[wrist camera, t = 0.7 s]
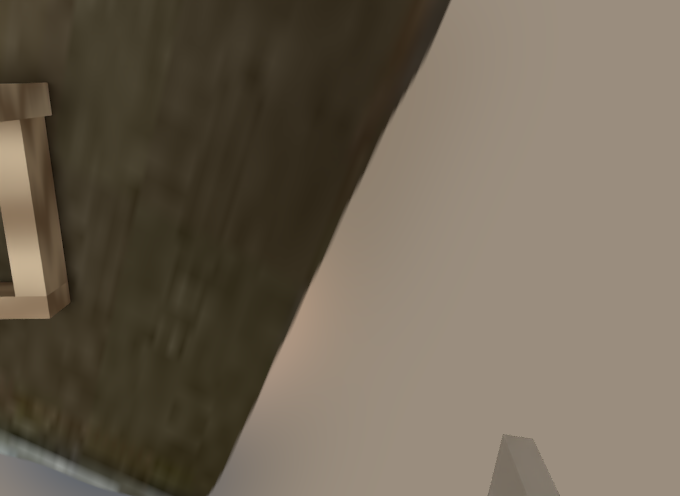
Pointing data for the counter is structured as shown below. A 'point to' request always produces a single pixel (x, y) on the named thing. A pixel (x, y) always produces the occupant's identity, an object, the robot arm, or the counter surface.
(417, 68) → the counter surface
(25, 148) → the board
